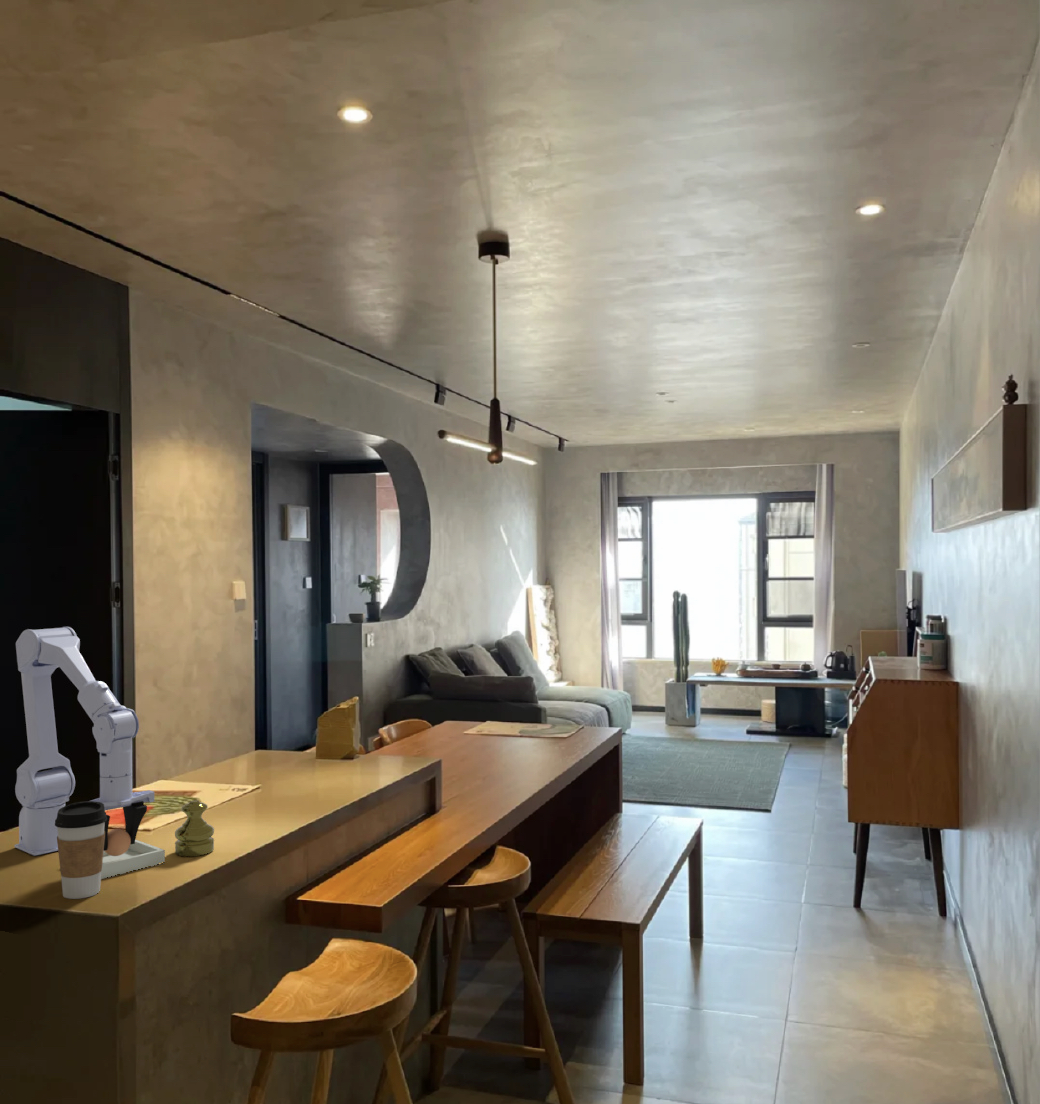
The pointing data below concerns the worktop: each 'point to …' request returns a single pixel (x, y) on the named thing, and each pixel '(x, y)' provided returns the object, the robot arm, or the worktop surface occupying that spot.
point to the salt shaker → (194, 832)
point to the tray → (132, 859)
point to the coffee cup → (81, 847)
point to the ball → (118, 842)
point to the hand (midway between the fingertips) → (116, 846)
